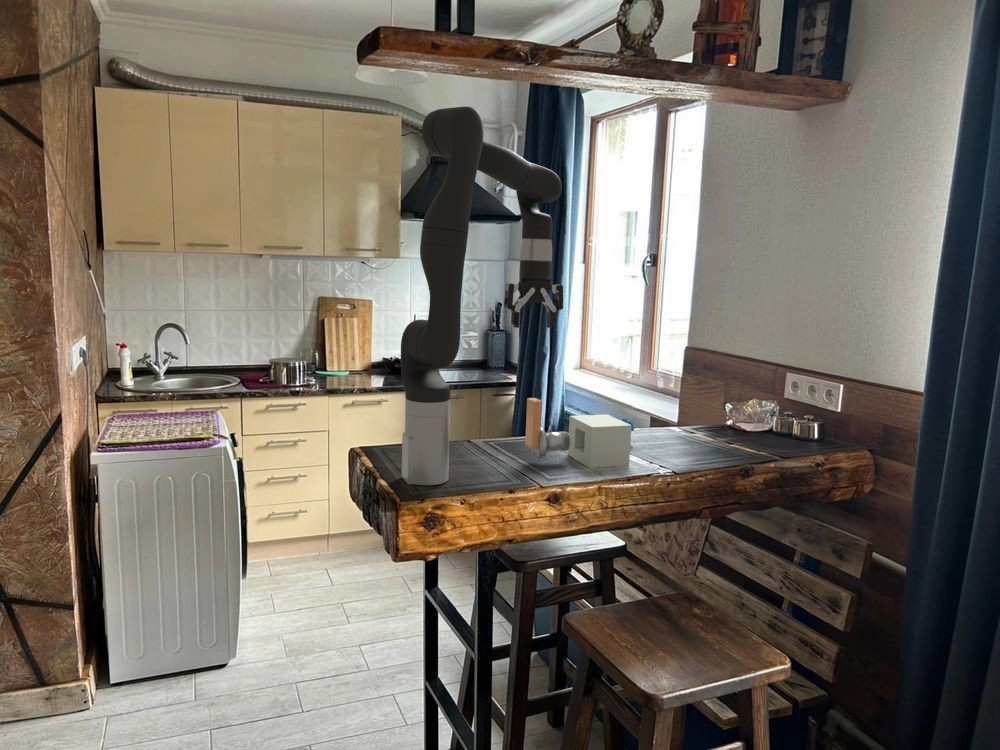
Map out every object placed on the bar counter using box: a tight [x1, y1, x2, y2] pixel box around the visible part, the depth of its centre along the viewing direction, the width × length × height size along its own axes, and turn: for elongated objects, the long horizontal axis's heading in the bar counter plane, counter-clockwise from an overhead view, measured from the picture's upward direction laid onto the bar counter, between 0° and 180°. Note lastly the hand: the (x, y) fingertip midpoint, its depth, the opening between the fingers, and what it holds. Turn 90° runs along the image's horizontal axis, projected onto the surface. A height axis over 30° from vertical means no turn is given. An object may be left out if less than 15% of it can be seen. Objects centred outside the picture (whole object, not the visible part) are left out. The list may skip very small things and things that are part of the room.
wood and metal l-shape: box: [524, 397, 570, 460], centre depth 169 cm, size 9×8×14 cm
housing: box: [567, 413, 632, 469], centre depth 174 cm, size 10×12×10 cm
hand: (532, 327), depth 177 cm, fingers open, 8 cm apart
